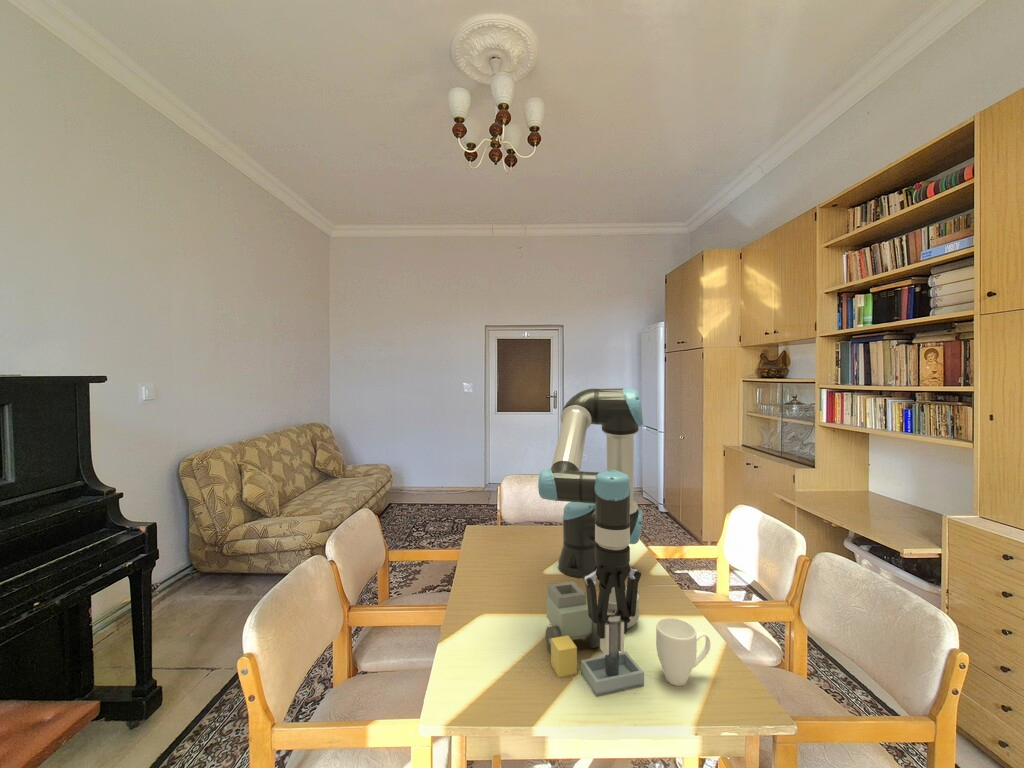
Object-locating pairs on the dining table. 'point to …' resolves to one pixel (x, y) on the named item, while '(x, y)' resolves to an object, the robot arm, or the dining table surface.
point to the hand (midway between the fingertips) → (611, 649)
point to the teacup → (613, 605)
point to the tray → (605, 684)
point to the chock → (563, 656)
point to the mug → (678, 649)
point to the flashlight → (613, 643)
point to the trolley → (569, 614)
